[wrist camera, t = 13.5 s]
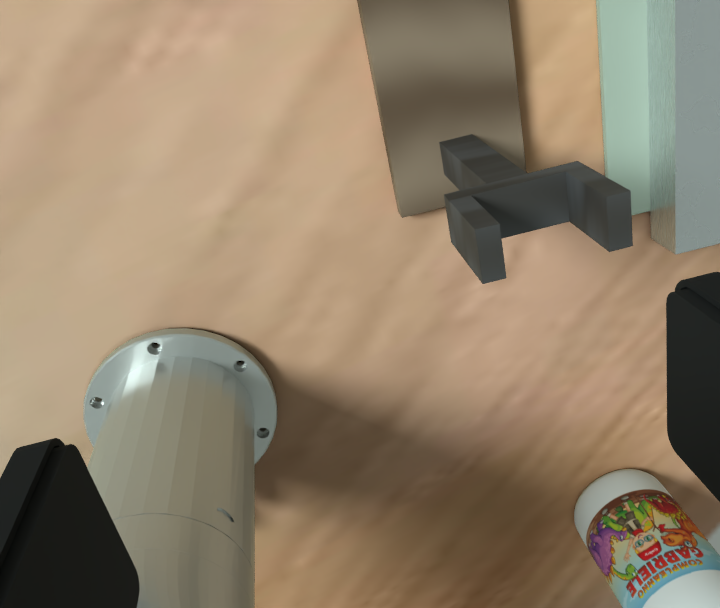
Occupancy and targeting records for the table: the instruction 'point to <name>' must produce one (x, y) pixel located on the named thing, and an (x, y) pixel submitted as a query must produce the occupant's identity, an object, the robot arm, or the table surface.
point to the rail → (684, 122)
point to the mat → (625, 96)
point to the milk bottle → (646, 543)
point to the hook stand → (473, 132)
